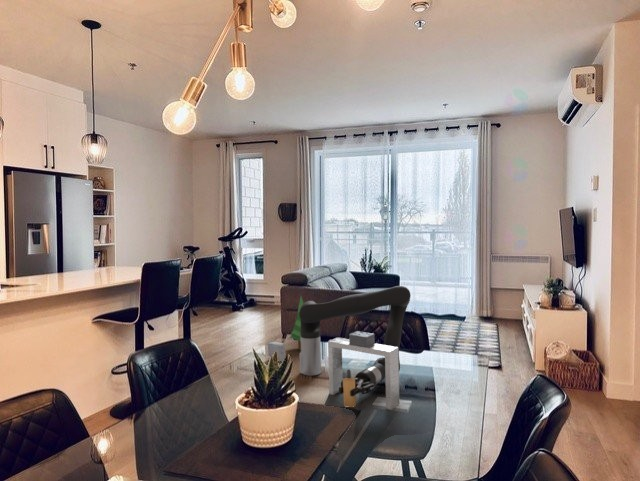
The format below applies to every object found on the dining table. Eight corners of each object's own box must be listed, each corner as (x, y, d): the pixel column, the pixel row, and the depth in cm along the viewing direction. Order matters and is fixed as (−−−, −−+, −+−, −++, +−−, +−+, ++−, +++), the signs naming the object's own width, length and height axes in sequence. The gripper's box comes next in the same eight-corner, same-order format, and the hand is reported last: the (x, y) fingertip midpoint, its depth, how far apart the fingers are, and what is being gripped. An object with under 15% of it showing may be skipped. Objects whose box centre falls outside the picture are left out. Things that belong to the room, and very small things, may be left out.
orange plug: (341, 406, 170) (340, 371, 170) (346, 402, 175) (345, 367, 174) (353, 408, 168) (352, 372, 168) (357, 404, 173) (356, 368, 172)
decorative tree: (311, 353, 241) (309, 297, 239) (284, 351, 246) (282, 296, 244) (320, 346, 253) (318, 293, 252) (294, 344, 259) (293, 292, 257)
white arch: (329, 394, 185) (327, 331, 184) (338, 388, 191) (337, 327, 189) (390, 409, 169) (389, 341, 167) (399, 403, 174) (398, 336, 173)
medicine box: (285, 359, 231) (285, 343, 231) (280, 362, 227) (279, 345, 227) (273, 357, 235) (273, 341, 235) (268, 360, 232) (267, 343, 231)
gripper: (353, 366, 187) (329, 378, 173) (384, 372, 178) (361, 386, 165) (353, 383, 187) (330, 398, 173) (384, 390, 179) (362, 406, 165)
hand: (345, 392), depth 169 cm, fingers closed on orange plug, 4 cm apart
